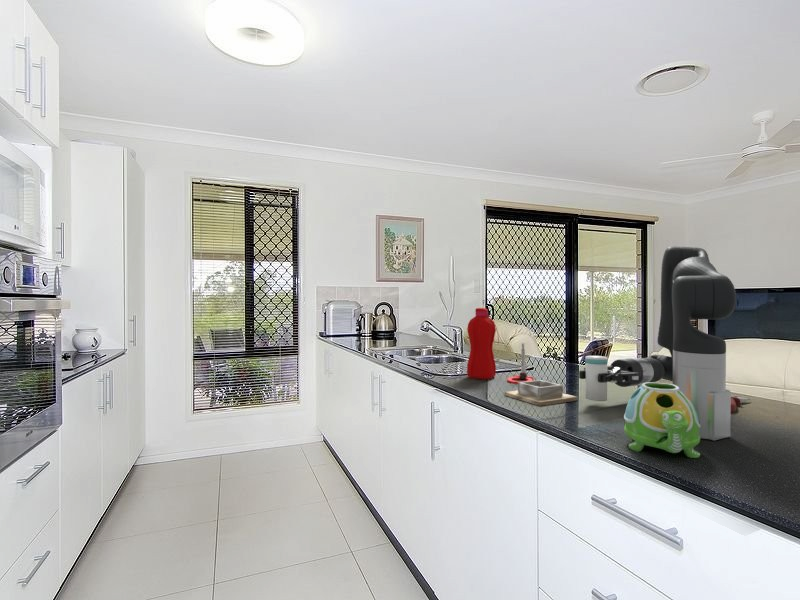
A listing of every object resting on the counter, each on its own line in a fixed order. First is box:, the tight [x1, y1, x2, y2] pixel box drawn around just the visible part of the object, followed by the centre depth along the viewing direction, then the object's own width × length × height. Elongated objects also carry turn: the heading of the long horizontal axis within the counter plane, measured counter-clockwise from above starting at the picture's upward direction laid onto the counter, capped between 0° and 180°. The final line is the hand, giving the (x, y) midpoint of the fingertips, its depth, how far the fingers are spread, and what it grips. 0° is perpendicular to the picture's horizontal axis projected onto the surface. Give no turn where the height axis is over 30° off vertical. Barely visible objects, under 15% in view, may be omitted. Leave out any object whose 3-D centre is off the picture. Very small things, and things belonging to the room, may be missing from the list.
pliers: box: [731, 395, 751, 413], centre depth 116 cm, size 12×20×3 cm, turn 116°
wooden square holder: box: [503, 379, 578, 407], centre depth 123 cm, size 14×14×4 cm
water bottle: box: [466, 307, 500, 381], centre depth 154 cm, size 9×11×25 cm
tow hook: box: [506, 342, 534, 385], centre depth 147 cm, size 8×13×9 cm
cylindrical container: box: [584, 355, 609, 402], centre depth 113 cm, size 5×5×11 cm
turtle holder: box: [623, 382, 701, 459], centre depth 80 cm, size 12×18×12 cm
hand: (589, 376), depth 112 cm, fingers closed on cylindrical container, 5 cm apart
